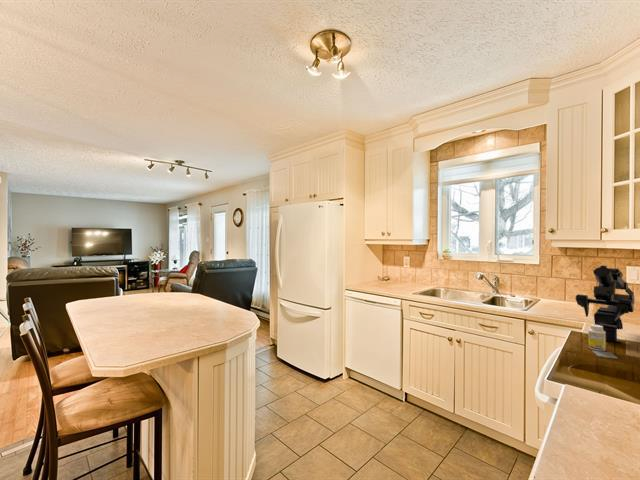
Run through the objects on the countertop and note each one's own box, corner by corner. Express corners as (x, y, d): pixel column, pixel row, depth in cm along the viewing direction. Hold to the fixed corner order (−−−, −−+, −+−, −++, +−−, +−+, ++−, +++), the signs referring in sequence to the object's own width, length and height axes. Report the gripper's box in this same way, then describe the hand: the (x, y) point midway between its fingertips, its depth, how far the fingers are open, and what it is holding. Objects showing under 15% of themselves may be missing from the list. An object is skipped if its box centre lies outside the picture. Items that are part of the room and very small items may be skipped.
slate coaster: (591, 351, 127) (591, 350, 127) (610, 353, 124) (610, 352, 124) (598, 356, 121) (598, 355, 121) (617, 359, 119) (617, 358, 119)
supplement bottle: (596, 346, 132) (596, 323, 132) (609, 351, 127) (609, 327, 127) (585, 347, 132) (584, 324, 132) (597, 351, 126) (597, 327, 126)
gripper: (576, 277, 143) (569, 304, 137) (631, 281, 128) (626, 311, 122) (581, 291, 148) (574, 317, 141) (635, 297, 133) (631, 326, 126)
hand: (600, 318), depth 133 cm, fingers open, 9 cm apart
